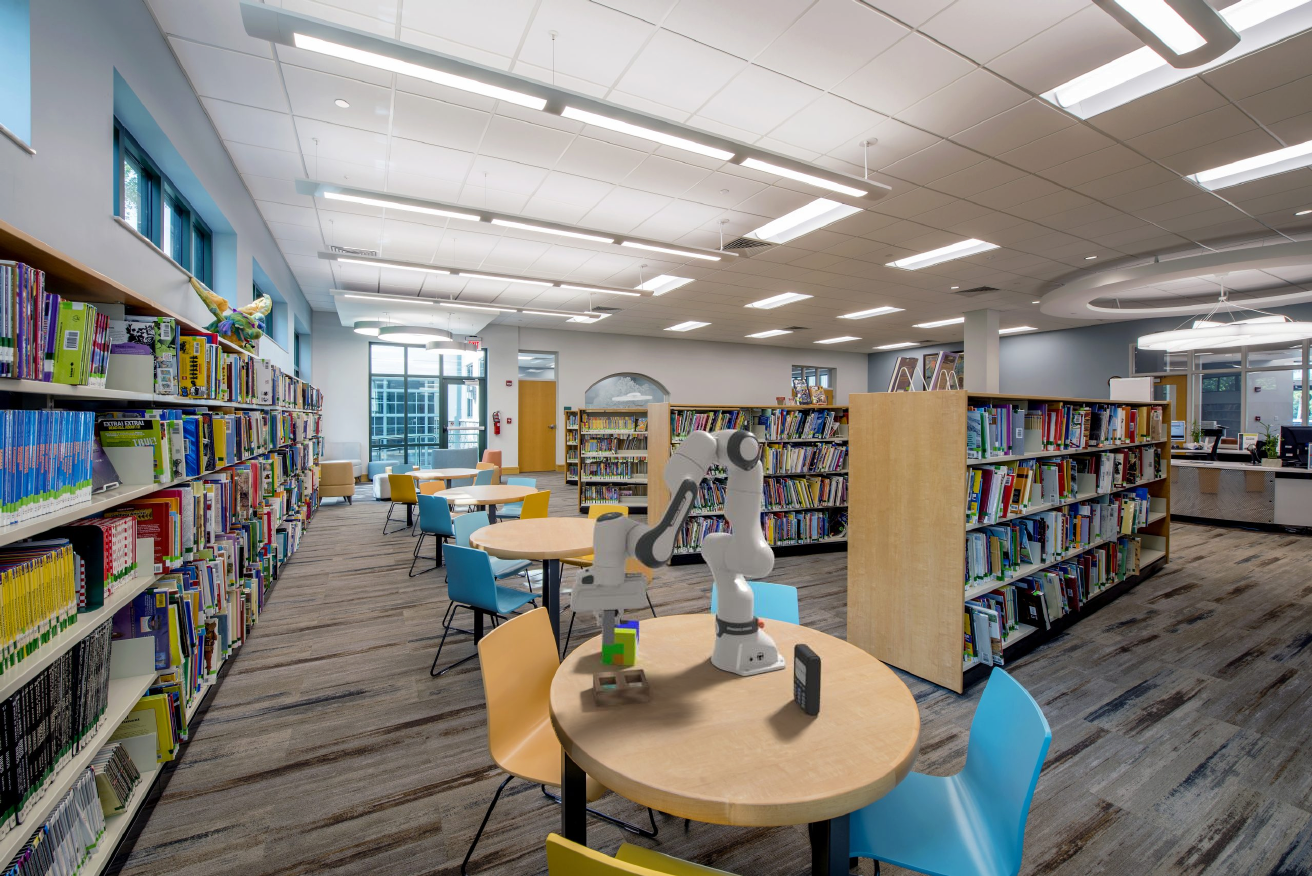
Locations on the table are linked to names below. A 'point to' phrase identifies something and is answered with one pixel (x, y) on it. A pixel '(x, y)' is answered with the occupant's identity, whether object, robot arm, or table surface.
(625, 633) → the puzzle toy
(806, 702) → the card reader
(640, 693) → the socket block
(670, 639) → the table surface
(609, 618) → the plug
